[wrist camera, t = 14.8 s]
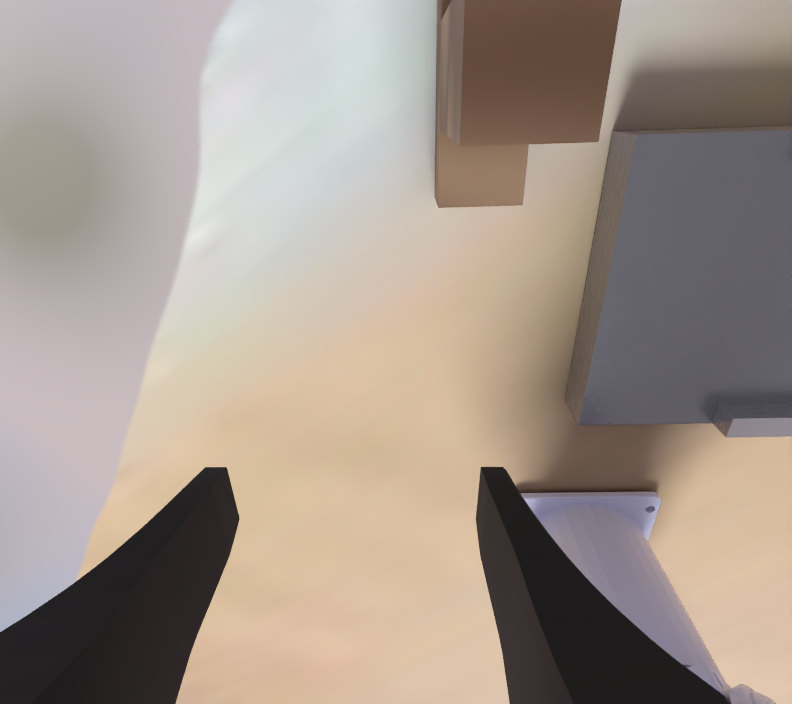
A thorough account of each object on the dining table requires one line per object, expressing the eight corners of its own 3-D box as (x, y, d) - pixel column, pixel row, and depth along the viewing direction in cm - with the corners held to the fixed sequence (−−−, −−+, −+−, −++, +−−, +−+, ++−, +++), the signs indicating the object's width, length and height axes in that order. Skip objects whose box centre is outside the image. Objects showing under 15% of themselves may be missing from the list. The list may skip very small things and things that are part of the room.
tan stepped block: (510, 195, 18) (579, 254, 11) (434, 197, 18) (456, 258, 11) (533, -71, 14) (660, -235, 7) (437, -68, 14) (472, -226, 7)
